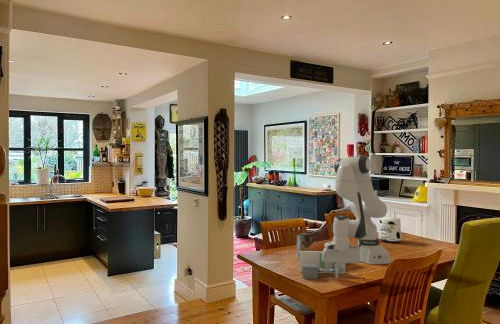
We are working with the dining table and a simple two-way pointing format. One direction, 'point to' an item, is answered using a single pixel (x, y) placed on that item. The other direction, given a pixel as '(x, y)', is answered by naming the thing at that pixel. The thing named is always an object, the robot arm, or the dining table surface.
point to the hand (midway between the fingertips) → (340, 270)
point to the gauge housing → (314, 264)
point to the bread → (318, 245)
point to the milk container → (390, 229)
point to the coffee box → (303, 242)
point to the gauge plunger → (331, 270)
